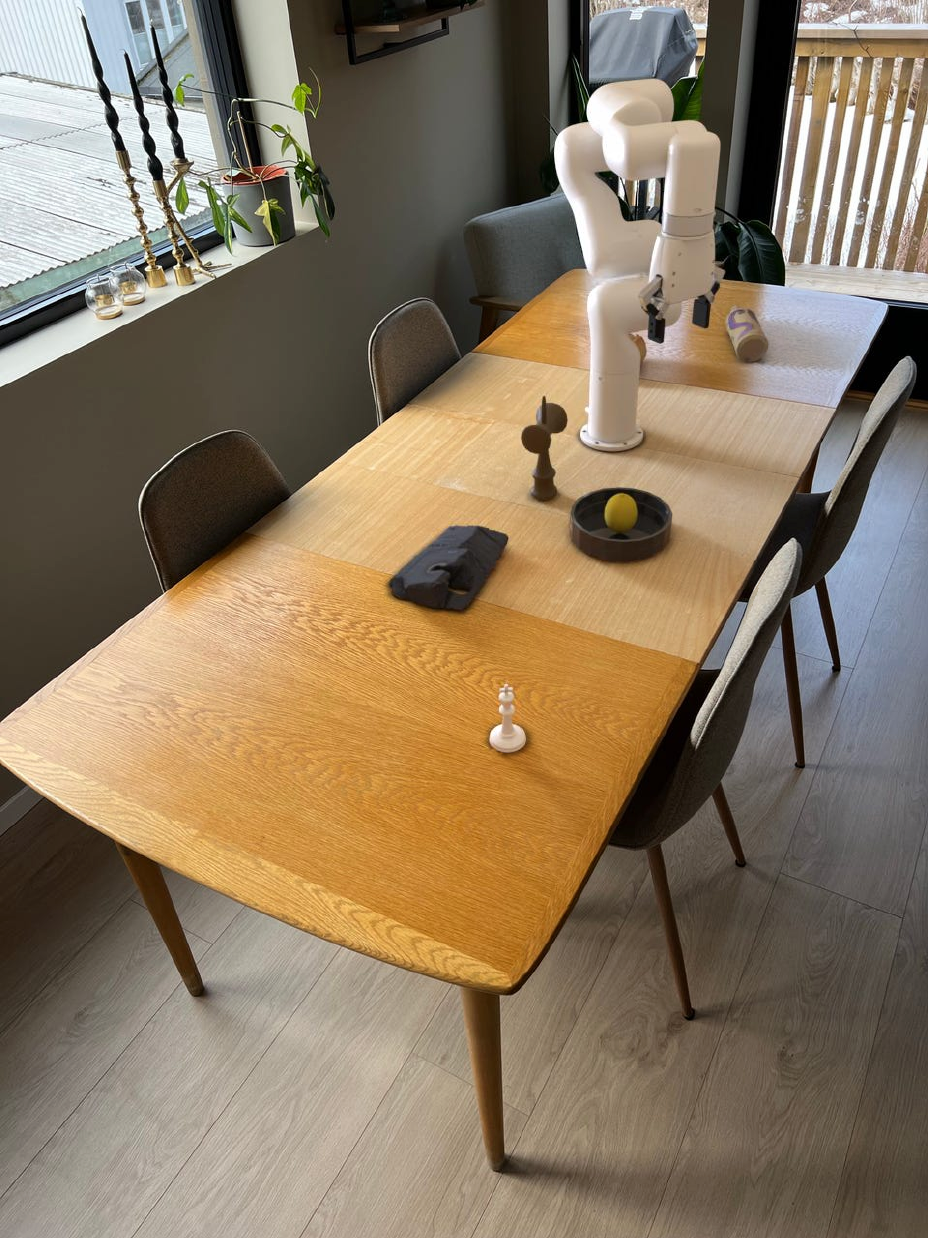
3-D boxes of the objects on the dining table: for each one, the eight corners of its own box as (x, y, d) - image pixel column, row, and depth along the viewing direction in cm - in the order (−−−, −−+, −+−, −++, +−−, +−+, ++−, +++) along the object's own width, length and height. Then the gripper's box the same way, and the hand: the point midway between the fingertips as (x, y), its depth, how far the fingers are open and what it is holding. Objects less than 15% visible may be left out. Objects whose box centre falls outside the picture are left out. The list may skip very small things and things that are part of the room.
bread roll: (651, 358, 226) (654, 325, 221) (636, 385, 215) (638, 351, 210) (611, 354, 229) (612, 321, 224) (594, 380, 218) (595, 346, 213)
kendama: (567, 484, 184) (569, 386, 171) (550, 510, 177) (551, 410, 164) (537, 479, 186) (537, 382, 173) (519, 505, 179) (518, 405, 166)
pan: (553, 522, 174) (553, 501, 171) (637, 500, 178) (639, 478, 175) (599, 573, 161) (600, 551, 158) (689, 547, 165) (691, 525, 163)
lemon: (634, 543, 167) (637, 503, 162) (602, 540, 168) (604, 501, 163) (636, 525, 171) (639, 486, 166) (605, 523, 172) (607, 484, 167)
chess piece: (487, 728, 134) (485, 674, 128) (523, 725, 134) (522, 670, 128) (491, 754, 130) (489, 700, 124) (528, 750, 130) (527, 696, 124)
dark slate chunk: (524, 548, 168) (523, 524, 165) (460, 619, 153) (459, 595, 150) (448, 526, 174) (446, 504, 171) (380, 593, 160) (377, 569, 157)
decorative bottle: (767, 362, 221) (771, 334, 217) (734, 363, 222) (737, 335, 218) (749, 319, 241) (753, 292, 237) (718, 319, 242) (721, 293, 238)
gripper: (711, 206, 152) (700, 314, 163) (627, 229, 145) (621, 340, 156) (746, 216, 147) (733, 326, 158) (661, 240, 140) (653, 354, 151)
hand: (678, 333), depth 157 cm, fingers open, 9 cm apart
